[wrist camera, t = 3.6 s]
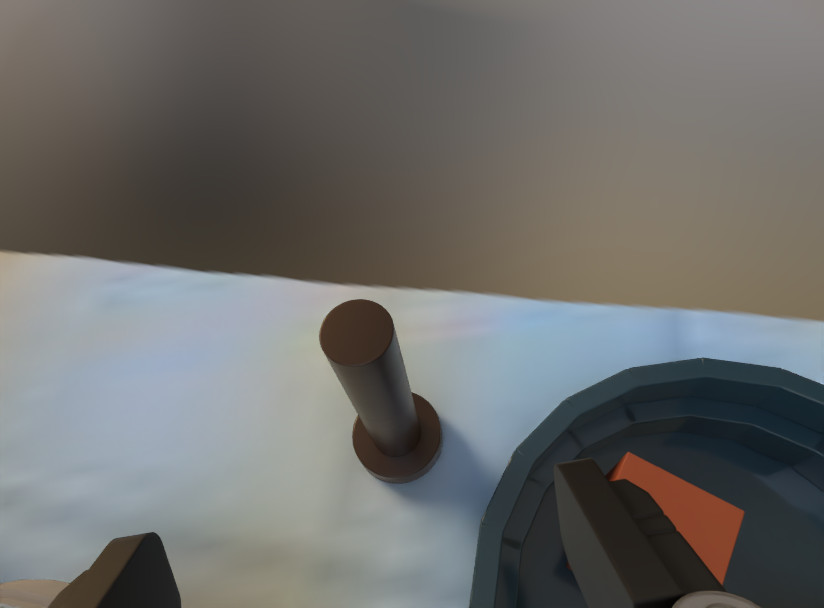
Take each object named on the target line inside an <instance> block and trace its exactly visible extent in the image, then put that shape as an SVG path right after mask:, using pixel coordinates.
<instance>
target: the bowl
mask: <svg viewBox="0 0 824 608" xmlns="http://www.w3.org/2000/svg"><path fill="white" fill-rule="evenodd" d="M627 452H630V453H632V454H634V455H636V456H638V457H639V458H641V459H643V460H645V461H647V462H649V463H651V464H653V465H655V466H657V467H659V468H661V469H663V470H665V471H667V472H669V473H671V474H673V475H675V476H677V477H679V478H681V479H682V480H684V481H686V482H688V483H690V484H692V485H694V486H696V487H698V488H700V489H702V490H704V491H706V492H708V493H710V494H712V495H714V496H716V497H718V498H720V499H722V500H724V501H725V502H727V503H729V504H731V505H733V506H735V507H737V508H739V509H741V510H743V511H744V512H745V514H744V517H743V520H742V524H741V527H740V530H739V533H738V537H737V540H736V543H735V546H734V550H733V553H732V556H731V559H730V562H729V566H728V569H727V572H726V575H725V579H724V582H723V585H722V586H723V587H724V589H725V590H726V591H727V592H728V593H730V594H734V595H737V596H740V597H743V598H745V599H747V600H749V601H751V602H753V603H755V604H757V605H758V606H760V607H762V608H824V385H823V384H820V383H817V382H815V381H812V380H810V379H807V378H805V377H802V376H799V375H797V374H794V373H792V372H789V371H787V370H784V369H781V368H776V367H769V366H761V365H754V364H746V363H739V362H731V361H724V360H716V359H709V358H697V359H690V360H683V361H676V362H668V363H661V364H654V365H647V366H640V367H633V368H629V369H625V370H623V371H621V372H619V373H617V374H615V375H613V376H611V377H609V378H607V379H605V380H603V381H601V382H599V383H597V384H595V385H593V386H591V387H589V388H587V389H585V390H582V391H580V392H578V393H576V394H574V395H572V396H570V397H568V398H567V399H566V400H564V401H562V402H561V403H560V405H559V406H558V407H557V408H556V409H555V410H554V411H553V412H552V413H551V414H550V415H549V416H548V417H547V418H546V419H545V420H544V421H543V422H542V423H541V424H540V425H539V426H538V427H537V428H536V429H535V430H534V431H533V432H532V433H531V434H530V435H529V436H528V437H527V438H526V439H525V440H524V441H523V442H522V443H521V444H520V445H519V446H518V447H517V448H516V450H515V451H514V452H513V454H512V456H511V458H510V461H509V463H508V465H507V467H506V469H505V471H504V473H503V475H502V478H501V480H500V482H499V484H498V486H497V488H496V490H495V492H494V495H493V497H492V499H491V501H490V503H489V505H488V507H487V509H486V512H485V514H484V516H483V518H482V520H481V524H480V529H479V537H478V544H477V552H476V560H475V567H474V575H473V582H472V590H471V597H470V605H469V608H589V607H588V605H587V603H586V601H585V598H584V596H583V594H582V592H581V590H580V587H579V585H578V583H577V581H576V578H575V576H574V574H573V572H572V570H570V569H568V568H567V567H566V564H567V561H568V560H567V557H566V553H565V550H564V546H563V542H562V537H561V532H560V524H559V516H558V507H557V499H556V491H555V482H554V473H553V467H554V464H556V463H562V462H567V461H573V460H579V459H585V458H590V457H591V458H593V459H594V461H595V462H596V463H597V465H598V466H599V468H600V469H601V471H602V472H603V474H604V475H605V476H606V475H607V473H608V472H609V471H610V470H611V469H612V468H613V467H614V466H615V465H616V464H617V463H618V462H619V461H620V460H621V459H622V457H623V456H624V455H625V454H626V453H627Z"/></svg>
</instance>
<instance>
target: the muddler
mask: <svg viewBox="0 0 824 608" xmlns="http://www.w3.org/2000/svg"><path fill="white" fill-rule="evenodd" d="M319 339H320V345H321V348H322V350H323V352H324V353H325V355H326V357H327V359H328V361H329V362H330V364H331V366H332V368H333V370H334V372H335V373H336V375H337V377H338V379H339V381H340V382H341V384H342V386H343V388H344V390H345V392H346V393H347V395H348V397H349V399H350V401H351V402H352V404H353V406H354V408H355V410H356V412H357V413H358V416H357V418H356V420H355V423H354V427H353V435H352V438H353V446H354V449H355V452H356V454H357V456H358V458H359V460H360V461H361V463H362V464H363V465H364V467H365V468H366V469H367V470H368V472H369V473H371V474H372V475H373V476H375V477H376V478H378V479H380V480H382V481H385V482H389V483H407V482H410V481H413V480H416V479H418V478H420V477H421V476H423V475H424V474H425V473H427V472H428V471H429V470H430V469H431V468H432V467H433V465H434V464H435V462H436V461H437V459H438V457H439V454H440V451H441V447H442V431H441V425H440V421H439V417H438V415H437V413H436V411H435V410H434V408H433V407H432V406H431V404H430V403H429V402H428V401H427V400H425V399H424V398H423V397H421V396H419V395H417V394H415V393H412V392H411V389H410V385H409V381H408V377H407V374H406V370H405V366H404V362H403V358H402V354H401V351H400V347H399V343H398V339H397V335H396V332H395V328H394V324H393V320H392V318H391V316H390V314H389V313H388V312H387V310H386V309H385V308H383V307H382V306H381V305H379V304H377V303H375V302H373V301H370V300H363V299H357V300H351V301H347V302H344V303H342V304H340V305H338V306H337V307H335V308H334V309H333V310H332V311H330V313H329V314H328V315H327V316H326V318H325V319H324V321H323V323H322V325H321V328H320V334H319Z"/></svg>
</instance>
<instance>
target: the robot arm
mask: <svg viewBox="0 0 824 608" xmlns="http://www.w3.org/2000/svg"><path fill="white" fill-rule="evenodd" d="M553 473H554V482H555V491H556V499H557V507H558V516H559V524H560V532H561V537H562V542H563V546H564V550H565V553H566V557H567V560H568V562H569V565H570V567H571V569H572V572H573V574H574V576H575V578H576V581H577V583H578V585H579V587H580V590H581V592H582V594H583V596H584V598H585V601H586V603H587V605H588V607H589V608H762V607H760V606H758V605H757V604H755V603H753V602H751V601H749V600H747V599H745V598H743V597H740V596H737V595H734V594H730V593H728V592H727V591H726V590H725V589H724V587H723V586H722V585H721V583H720V582H719V581H718V580H717V578H716V577H715V576H714V575H713V573H712V572H711V571H710V570H709V568H708V567H707V566H706V564H705V563H704V562H703V561H702V559H701V558H700V557H699V556H698V554H697V553H696V552H695V551H694V549H693V548H692V547H691V545H690V544H689V543H688V542H687V540H686V539H685V538H684V537H683V535H682V534H681V533H680V532H679V531H677V530H676V526H675V525H674V524H673V523H672V521H671V520H670V519H669V518H668V516H667V515H664V512H663V510H662V509H661V507H660V506H659V505H658V504H657V502H656V501H655V500H654V499H653V497H652V496H651V495H650V494H649V492H647V491H645V490H644V489H642V488H640V487H639V486H637V485H635V484H634V483H632V482H630V481H629V480H627V479H620V480H615V481H608V479H607V478H606V476H605V475H604V474H603V472H602V471H601V469H600V468H599V466H598V465H597V463H596V462H595V461H594V459H593V458H591V457H590V458H585V459H579V460H573V461H567V462H562V463H556V464H554V467H553ZM48 608H181V599H180V594H179V591H178V588H177V585H176V582H175V579H174V576H173V573H172V570H171V567H170V564H169V561H168V558H167V555H166V552H165V549H164V546H163V543H162V541H161V539H160V537H159V536H158V535H157V534H156V533H154V532H150V533H144V534H139V535H133V536H127V537H121V538H116V539H113V540H112V541H111V542H110V543H109V544H108V545H107V546H106V548H105V549H104V550H103V552H102V553H101V554H100V556H99V557H98V558H97V560H96V561H95V562H94V564H93V565H92V566H91V567H90V569H89V570H86V571H84V572H83V573H82V574H81V575H80V576H78V577H77V578H76V579H75V580H74V581H73V582H71V583H70V584H69V585H68V586H67V587H65V588H64V589H63V590H62V591H61V592H59V594H58V595H57V596H56V597H55V599H54V600H53V601H52V603H51V604H50V605H49V606H48Z"/></svg>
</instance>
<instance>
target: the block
mask: <svg viewBox="0 0 824 608" xmlns="http://www.w3.org/2000/svg"><path fill="white" fill-rule="evenodd" d="M606 478H607V479H608V481H615V480H620V479H627V480H629V481H630V482H632V483H634V484H635V485H637V486H639V487H640V488H642V489H644V490H645V491H647V492H649V494H650V495H651V496H652V497H653V499H654V500H655V501H656V502H657V504H658V505H659V506H660V507H661V509H662V510H663V512H664V515H667V516H668V518H669V519H670V520H671V521H672V523H673V524H674V525H675V526H676V530H677V531H679V532H680V533H681V534H682V535H683V537H684V538H685V539H686V540H687V542H688V543H689V544H690V545H691V547H692V548H693V549H694V551H695V552H696V553H697V554H698V556H699V557H700V558H701V559H702V561H703V562H704V563H705V564H706V566H707V567H708V568H709V570H710V571H711V572H712V573H713V575H714V576H715V577H716V578H717V580H718V581H719V582H720V583H721V585H723V582H724V579H725V575H726V572H727V569H728V566H729V562H730V559H731V556H732V553H733V550H734V546H735V543H736V540H737V537H738V533H739V530H740V527H741V524H742V520H743V517H744V514H745V512H744V511H743V510H741V509H739V508H737V507H735V506H733V505H731V504H729V503H727V502H725V501H724V500H722V499H720V498H718V497H716V496H714V495H712V494H710V493H708V492H706V491H704V490H702V489H700V488H698V487H696V486H694V485H692V484H690V483H688V482H686V481H684V480H682V479H681V478H679V477H677V476H675V475H673V474H671V473H669V472H667V471H665V470H663V469H661V468H659V467H657V466H655V465H653V464H651V463H649V462H647V461H645V460H643V459H641V458H639V457H638V456H636V455H634V454H632V453H630V452H627V453H626V454H625V455H624V456H623V457H622V459H621V460H620V461H619V462H618V463H617V464H616V465H615V466H614V467H613V468H612V469H611V470H610V471H609V472H608V473H607V475H606ZM566 567H567V568H568V569H570V570H572V569H571V567H570V565H569V562H568V561H567V564H566Z"/></svg>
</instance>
